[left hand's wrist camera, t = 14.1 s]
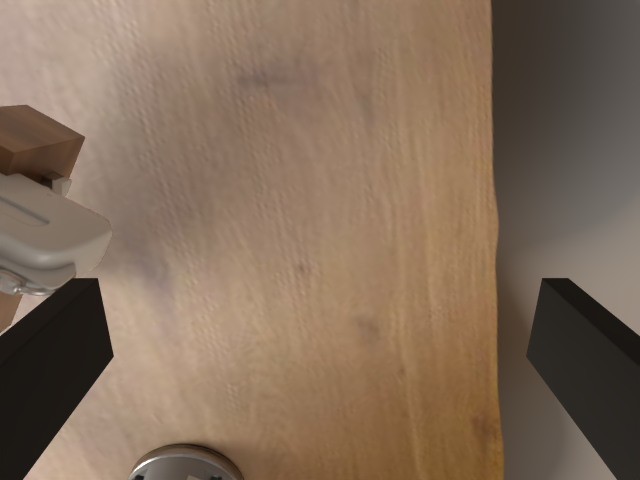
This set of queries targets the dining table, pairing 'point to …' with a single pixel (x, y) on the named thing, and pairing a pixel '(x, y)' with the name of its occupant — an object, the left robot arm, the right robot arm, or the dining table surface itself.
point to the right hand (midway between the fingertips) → (21, 162)
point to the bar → (33, 161)
